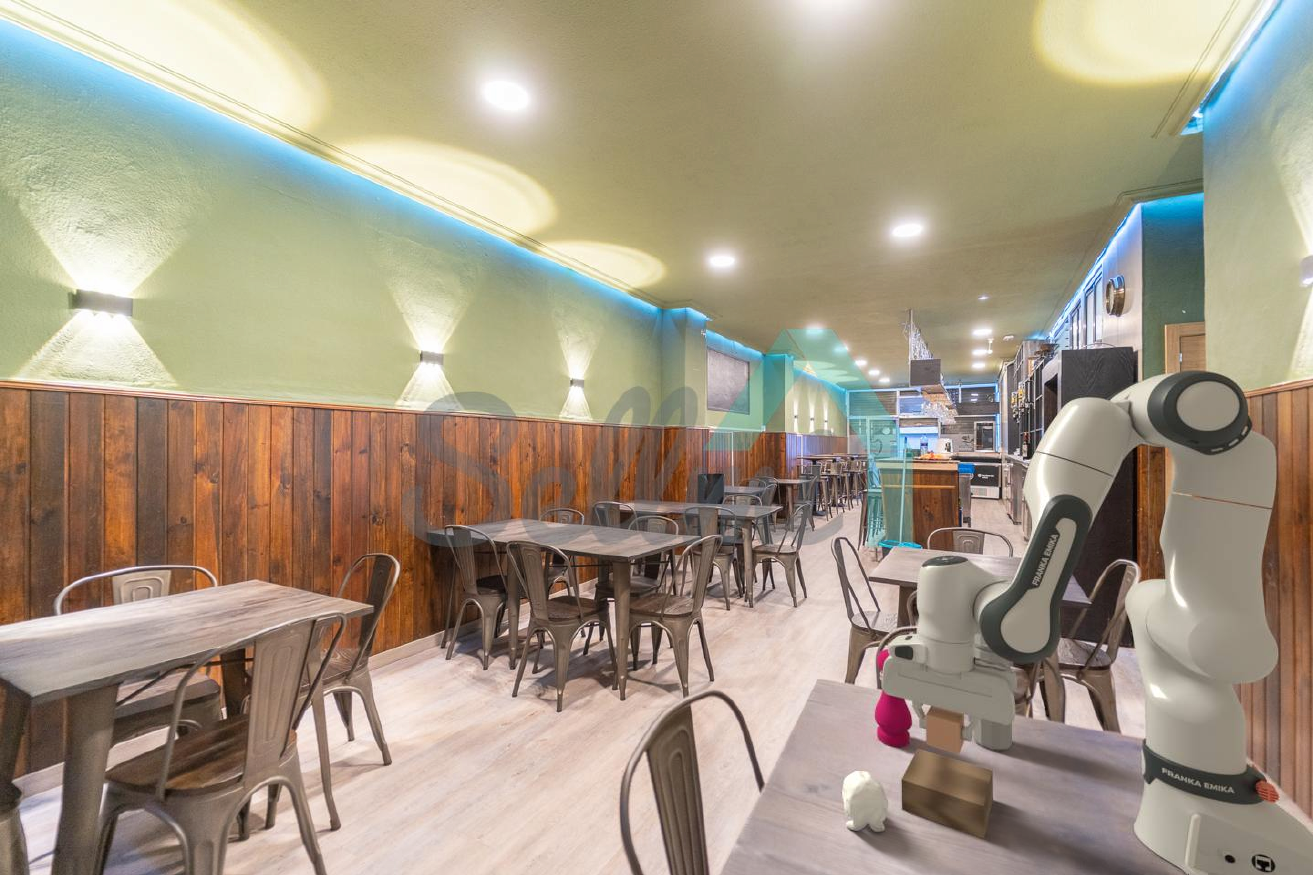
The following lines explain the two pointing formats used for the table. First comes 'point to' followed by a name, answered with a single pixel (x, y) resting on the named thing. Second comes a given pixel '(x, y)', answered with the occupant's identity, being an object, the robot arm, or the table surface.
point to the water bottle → (986, 730)
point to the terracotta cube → (944, 729)
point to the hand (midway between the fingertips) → (945, 733)
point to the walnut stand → (948, 792)
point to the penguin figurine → (864, 801)
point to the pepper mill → (892, 714)
